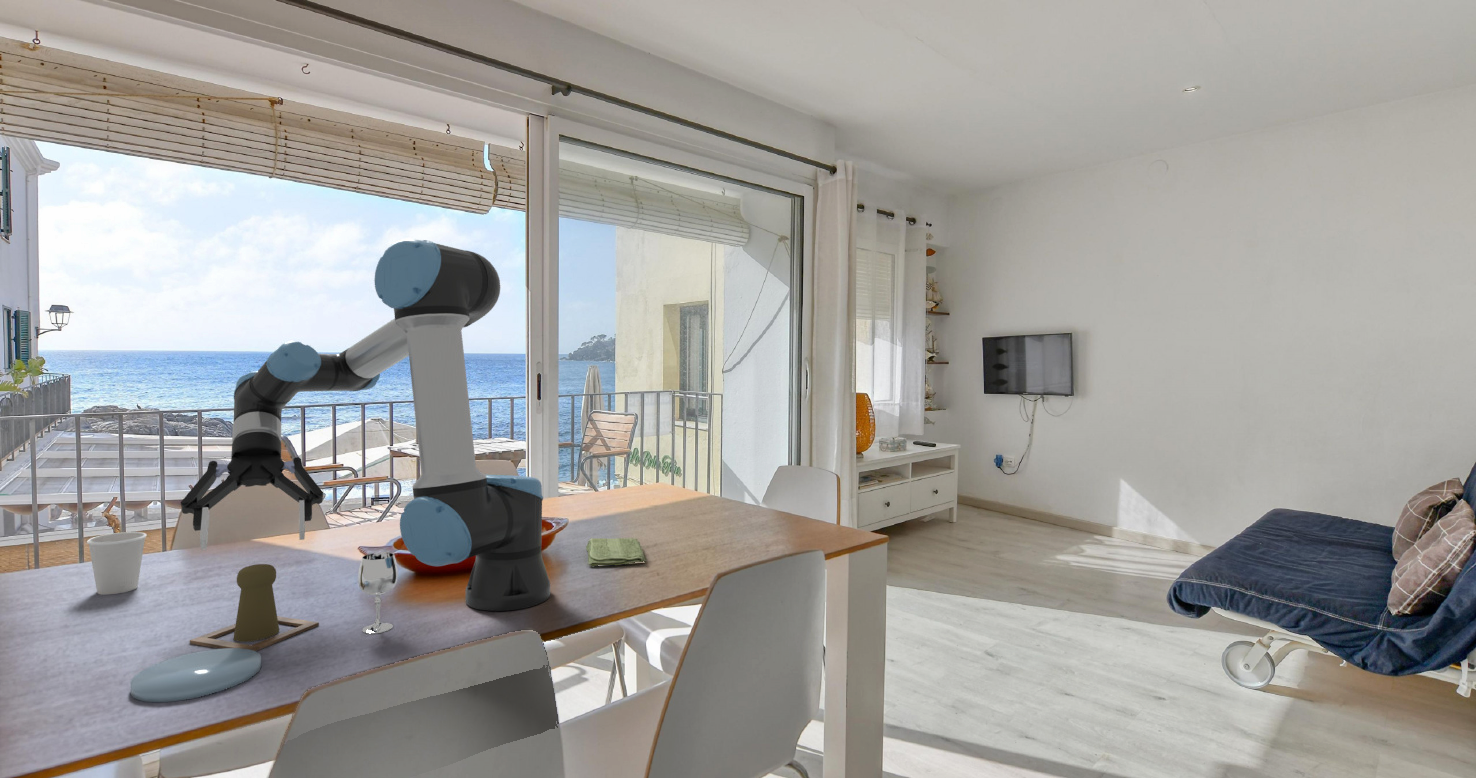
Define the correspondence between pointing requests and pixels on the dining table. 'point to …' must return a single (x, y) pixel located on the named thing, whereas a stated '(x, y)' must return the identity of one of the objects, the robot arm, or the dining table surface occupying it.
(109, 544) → the dixie cup
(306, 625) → the walnut frame
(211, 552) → the dining table surface
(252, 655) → the saucer
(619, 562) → the washcloth
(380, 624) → the wineglass
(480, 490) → the robot arm
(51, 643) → the dining table surface
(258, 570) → the cork
